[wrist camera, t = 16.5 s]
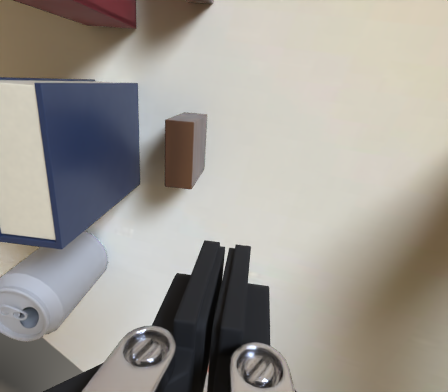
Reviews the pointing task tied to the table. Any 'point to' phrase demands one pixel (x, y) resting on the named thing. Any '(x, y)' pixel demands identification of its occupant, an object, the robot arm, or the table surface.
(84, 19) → the burgundy book
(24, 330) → the can
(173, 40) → the table surface
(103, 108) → the navy book
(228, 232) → the table surface
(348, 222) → the table surface
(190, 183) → the walnut block
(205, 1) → the walnut block
